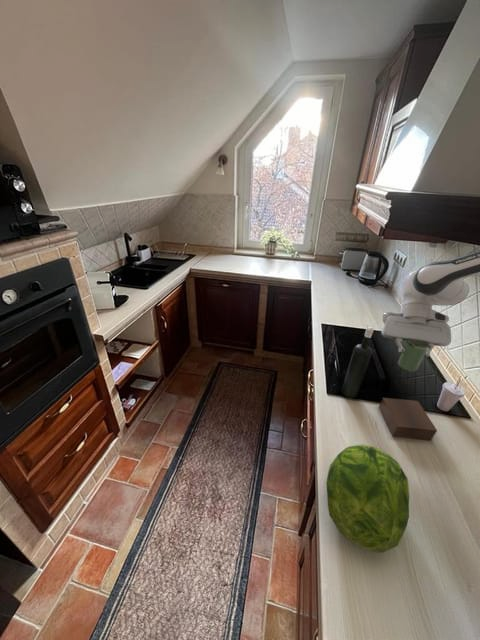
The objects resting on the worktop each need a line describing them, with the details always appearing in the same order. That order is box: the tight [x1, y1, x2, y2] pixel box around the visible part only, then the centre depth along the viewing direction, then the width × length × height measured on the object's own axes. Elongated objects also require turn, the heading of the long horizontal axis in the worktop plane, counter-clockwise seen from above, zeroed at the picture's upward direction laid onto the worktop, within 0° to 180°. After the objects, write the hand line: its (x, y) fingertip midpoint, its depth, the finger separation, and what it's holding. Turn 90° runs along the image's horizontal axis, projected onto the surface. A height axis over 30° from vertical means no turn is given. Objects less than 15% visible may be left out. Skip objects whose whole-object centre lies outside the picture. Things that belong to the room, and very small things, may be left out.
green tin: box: [397, 338, 429, 372], centre depth 86 cm, size 6×6×10 cm
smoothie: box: [436, 378, 467, 412], centre depth 90 cm, size 6×6×14 cm
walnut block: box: [378, 397, 438, 441], centre depth 86 cm, size 12×12×5 cm
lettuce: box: [325, 444, 410, 553], centre depth 62 cm, size 18×23×19 cm
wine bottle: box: [340, 325, 375, 399], centre depth 91 cm, size 6×6×30 cm
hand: (413, 354), depth 85 cm, fingers closed on green tin, 6 cm apart
